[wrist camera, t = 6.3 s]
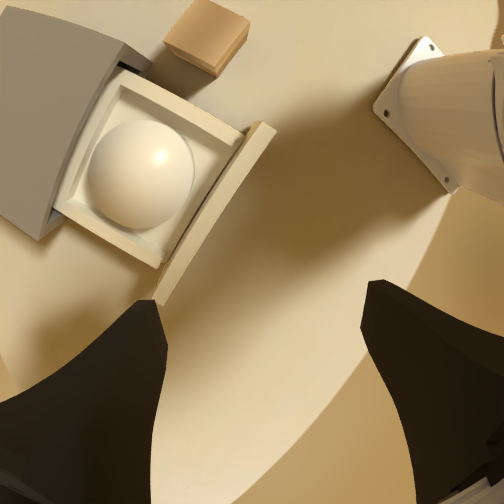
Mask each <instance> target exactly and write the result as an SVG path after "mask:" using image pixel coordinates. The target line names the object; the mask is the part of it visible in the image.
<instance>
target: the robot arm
mask: <svg viewBox="0 0 504 504" xmlns="http://www.w3.org/2000/svg"><path fill="white" fill-rule="evenodd" d="M501 39H502V43H503V45H504V35H502V37H501ZM429 46H430V47H431V50H430V48H429ZM385 110H386V111H387V113H388V115H387V117H385V116H384V111H385ZM373 112H374V113H375V114H376V115H377V116H378V117H379V118H380V119H381V120H382V121H383V122H384V123H385V124H386V125H387V126H388V127H389V128H390V129H391V130H392V131H393V132H394V133H395V134H396V135H397V136H398V137H399V138H400V139H401V140H402V141H403V142H404V143H405V144H406V145H407V146H408V147H409V148H410V149H411V150H412V151H413V152H414V153H415V154H416V155H417V157H418V158H419V159H420V160H421V161H422V162H423V163H424V164H425V166H426V167H427V168H428V169H429V170H430V171H431V172H432V174H433V175H434V176H435V177H436V178H437V180H438V181H439V182H440V183H441V184H442V186H443V187H444V188H445V189H446V191H447V192H448V193H450V194H455V193H456V191H457V190H458V188H459V186H461V187H464V188H466V189H468V190H471V191H473V192H475V193H477V194H480V195H482V196H484V197H486V198H488V199H490V200H493V201H495V202H497V203H499V204H501V205H503V206H504V49H498V50H485V51H476V52H468V53H460V54H453V55H447V56H444V54H443V53H442V52H441V51H440V50H439V49H438V48H437V47H436V45H435V44H434V43H433V42H432V41H431V40H430V39H429V38H428V37H426V36H423V37H420V38H419V40H418V41H417V42H416V44H415V45H414V47H413V48H412V50H411V51H410V53H409V54H408V55H407V57H406V58H405V60H404V61H403V63H402V64H401V65H400V67H399V68H398V70H397V71H396V73H395V74H394V75H393V77H392V78H391V80H390V81H389V83H388V84H387V85H386V87H385V88H384V90H383V91H382V93H381V94H380V95H379V97H378V98H377V100H376V101H375V102H374V104H373ZM445 178H446V181H445ZM360 329H361V332H362V335H363V337H364V340H365V343H366V346H367V349H368V351H369V353H370V355H371V357H372V359H373V361H374V363H375V365H376V367H377V369H378V371H379V373H380V375H381V377H382V379H383V381H384V382H385V384H386V387H387V389H388V391H389V393H390V395H391V397H392V399H393V401H394V404H395V406H396V408H397V411H398V414H399V417H400V420H401V423H402V426H403V430H404V433H405V437H406V441H407V445H408V448H409V453H410V458H411V462H412V467H413V473H414V481H415V489H416V502H417V504H504V337H502V336H499V335H495V334H492V333H490V332H487V331H484V330H482V329H479V328H477V327H474V326H472V325H470V324H467V323H465V322H463V321H461V320H458V319H456V318H455V317H453V316H451V315H449V314H447V313H445V312H443V311H441V310H439V309H437V308H436V307H434V306H432V305H430V304H428V303H427V302H425V301H423V300H421V299H419V298H418V297H416V296H414V295H413V294H411V293H409V292H407V291H406V290H404V289H402V288H400V287H398V286H397V285H395V284H393V283H391V282H389V281H386V280H384V279H383V280H375V281H368V287H367V294H366V299H365V305H364V310H363V316H362V321H361V326H360ZM167 350H168V344H167V341H166V337H165V334H164V331H163V327H162V324H161V320H160V317H159V313H158V310H157V306H156V302H155V300H138V301H137V302H135V303H134V304H133V305H132V306H131V307H130V308H129V309H128V310H126V311H125V312H124V313H123V314H122V315H121V316H120V317H119V318H118V319H117V320H116V321H115V322H114V323H113V324H112V325H111V326H110V327H109V328H108V329H107V330H105V331H104V332H103V333H102V334H101V335H100V336H99V337H98V338H97V339H96V340H95V341H93V342H92V343H91V344H90V345H89V346H88V347H87V348H85V349H84V350H83V351H82V352H81V353H80V354H79V355H77V356H76V357H75V358H74V359H72V360H71V361H70V362H69V363H67V364H66V365H65V366H63V367H62V368H60V369H59V370H58V371H56V372H55V373H53V374H52V375H50V376H49V377H47V378H46V379H44V380H42V381H41V382H39V383H38V384H36V385H34V386H33V387H31V388H29V389H28V390H26V391H24V392H22V393H20V394H18V395H16V396H14V397H12V398H10V399H8V400H6V401H3V402H1V403H0V504H151V491H150V464H151V444H152V433H153V426H154V421H155V416H156V411H157V407H158V402H159V398H160V393H161V389H162V384H163V380H164V375H165V371H166V361H167Z"/></svg>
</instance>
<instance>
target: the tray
mask: <svg viewBox="0 0 504 504" xmlns="http://www.w3.org/2000/svg"><path fill="white" fill-rule="evenodd" d="M135 120H152V121H158V122H162V123H165V124H167V125H169V126H171V127H173V128H174V129H176V130H177V131H178V132H179V133H180V134H181V135H182V136H183V137H184V138H185V139H186V141H187V142H188V144H189V146H190V148H191V150H192V153H193V156H194V161H195V178H194V182H193V186H192V188H191V191H190V193H189V195H188V196H187V198H186V200H185V202H184V203H183V205H182V207H181V208H180V209H179V211H178V212H177V213H176V214H175V215H174V216H172V217H171V218H170V219H169V220H167V221H165V222H164V223H162V224H160V225H157V226H154V227H150V228H142V229H137V228H130V227H126V226H123V225H121V224H118V223H116V222H115V221H113V220H112V219H110V218H109V217H107V216H106V215H105V214H104V213H103V212H102V210H101V209H100V208H99V207H98V205H97V203H96V202H95V200H94V198H93V196H92V193H91V190H90V186H89V178H88V171H89V163H90V159H91V156H92V153H93V151H94V149H95V147H96V145H97V144H98V142H99V141H100V140H101V138H102V137H103V136H104V135H105V134H106V133H107V132H109V131H110V130H111V129H113V128H114V127H116V126H118V125H120V124H122V123H125V122H129V121H135ZM276 132H277V130H275V129H274V128H272V127H271V126H269V125H268V124H266V123H265V122H263V121H258V122H255V123H254V124H253V126H252V127H251V128H250V130H249V131H248V133H247V134H246V136H245V135H243V134H241V133H240V132H238V131H237V130H235V129H233V128H232V127H230V126H228V125H227V124H225V123H224V122H222V121H220V120H219V119H217V118H215V117H214V116H212V115H210V114H208V113H207V112H205V111H203V110H202V109H200V108H198V107H196V106H195V105H193V104H191V103H189V102H187V101H186V100H184V99H182V98H180V97H178V96H177V95H175V94H173V93H171V92H169V91H167V90H165V89H163V88H162V87H160V86H158V85H156V84H154V83H152V82H150V81H148V80H146V79H144V78H142V77H140V76H138V75H136V74H134V73H132V72H130V71H128V70H125V69H123V68H121V67H119V66H117V65H116V67H115V68H114V70H113V72H112V73H111V75H110V77H109V78H108V80H107V82H106V83H105V85H104V87H103V89H102V91H101V92H100V94H99V96H98V98H97V100H96V102H95V104H94V105H93V107H92V109H91V111H90V113H89V115H88V117H87V119H86V121H85V123H84V126H83V128H82V130H81V132H80V134H79V136H78V139H77V141H76V143H75V145H74V148H73V150H72V153H71V155H70V157H69V160H68V162H67V165H66V168H65V170H64V173H63V175H62V178H61V181H60V184H59V187H58V189H57V192H56V195H55V198H54V202H53V205H52V207H53V208H55V209H56V210H58V211H59V212H61V213H62V214H64V215H66V216H67V217H69V218H70V219H72V220H74V221H75V222H77V223H78V224H80V225H82V226H83V227H85V228H86V229H88V230H90V231H91V232H93V233H95V234H96V235H98V236H100V237H101V238H103V239H105V240H106V241H108V242H110V243H111V244H113V245H115V246H117V247H118V248H120V249H122V250H123V251H125V252H127V253H129V254H130V255H132V256H134V257H136V258H137V259H139V260H141V261H143V262H144V263H146V264H148V265H150V266H152V267H153V268H155V269H158V267H159V266H160V264H161V262H162V263H164V264H165V263H166V264H165V265H164V268H163V270H162V272H161V275H160V277H159V280H158V282H157V285H156V287H155V290H154V293H153V295H152V298H151V300H155V302H156V303H157V304H159V305H161V306H164V305H165V303H166V301H167V300H168V298H169V296H170V295H171V293H172V291H173V290H174V288H175V286H176V285H177V283H178V281H179V280H180V278H181V276H182V275H183V273H184V272H185V270H186V268H187V267H188V265H189V263H190V262H191V260H192V259H193V257H194V255H195V254H196V252H197V251H198V249H199V247H200V246H201V244H202V243H203V241H204V240H205V238H206V236H207V235H208V233H209V232H210V230H211V229H212V227H213V225H214V224H215V222H216V221H217V219H218V218H219V216H220V215H221V213H222V212H223V210H224V209H225V207H226V205H227V204H228V202H229V201H230V199H231V198H232V196H233V195H234V193H235V192H236V190H237V189H238V187H239V186H240V184H241V183H242V181H243V180H244V179H245V177H246V176H247V174H248V173H249V171H250V170H251V168H252V167H253V165H254V164H255V162H256V161H257V159H258V158H259V157H260V155H261V154H262V152H263V151H264V149H265V148H266V147H267V145H268V144H269V142H270V141H271V139H272V138H273V137H274V135H275V134H276ZM243 138H244V139H243ZM236 148H237V149H236ZM234 151H235V152H234ZM232 154H233V155H232ZM230 157H231V158H230ZM228 160H229V161H228ZM226 163H227V164H226ZM219 174H220V175H219ZM217 177H218V178H217ZM215 180H216V181H215ZM213 183H214V184H213ZM210 188H211V189H210ZM208 191H209V192H208ZM205 196H206V197H205ZM203 199H204V200H203ZM200 204H201V205H200ZM198 207H199V208H198ZM195 212H196V213H195ZM192 217H193V218H192ZM189 222H190V223H189ZM186 227H187V228H186ZM183 232H184V233H183ZM180 237H181V238H180ZM177 242H178V243H177ZM176 244H177V245H176ZM173 249H174V250H173ZM169 256H170V257H169Z"/></svg>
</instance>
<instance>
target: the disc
mask: <svg viewBox="0 0 504 504" xmlns="http://www.w3.org/2000/svg"><path fill="white" fill-rule="evenodd" d="M88 178H89V186H90V190H91V193H92V196H93V198H94V200H95V202H96V203H97V205H98V207H99V208H100V209H101V210H102V212H103V213H104V214H105V215H106V216H107V217H109V218H110V219H112V220H113V221H115V222H116V223H118V224H121V225H123V226H126V227H130V228H137V229H142V228H150V227H154V226H157V225H160V224H162V223H164V222H165V221H167V220H169V219H170V218H171V217H172V216H174V215H175V214H176V213H177V212H178V211H179V209H180V208H181V207H182V205H183V203H184V202H185V200H186V198H187V196H188V195H189V193H190V191H191V188H192V186H193V182H194V178H195V161H194V156H193V153H192V150H191V148H190V146H189V144H188V142H187V141H186V139H185V138H184V137H183V136H182V135H181V134H180V133H179V132H178V131H177V130H176V129H174V128H173V127H171V126H169V125H167V124H165V123H162V122H158V121H152V120H135V121H129V122H125V123H122V124H120V125H118V126H116V127H114V128H113V129H111V130H110V131H109V132H107V133H106V134H105V135H104V136H103V137H102V138H101V140H100V141H99V142H98V144H97V145H96V147H95V149H94V151H93V153H92V156H91V159H90V163H89V171H88Z"/></svg>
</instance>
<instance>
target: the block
mask: <svg viewBox="0 0 504 504" xmlns="http://www.w3.org/2000/svg"><path fill="white" fill-rule="evenodd" d="M250 22H251V21H249V20H247V19H245V18H244V17H242V16H240V15H238V14H236V13H234V12H232V11H230V10H228V9H226V8H224V7H222V6H220V5H218V4H216V3H213V2H211V1H209V0H195V1H194V2H193V3H192V4H191V5H190V7H189V8H188V9H187V10H186V11H185V12H184V14H183V15H182V16H181V17H180V19H179V20H178V21H177V22H176V24H175V25H174V26H173V27H172V29H171V30H170V31H169V33H168V34H167V35H166V37H165V38H164V39H163V42H164V43H165V44H166V45H167V47H168V48H169V49H170V50H171V51H172V52H173V54H174V55H175V56H177V57H179V58H181V59H183V60H185V61H187V62H189V63H191V64H193V65H195V66H196V67H198V68H200V69H202V70H204V71H206V72H208V73H209V74H211V75H213V76H215V77H216V78H218V77H219V75H220V74H221V73H222V71H223V70H224V69H225V67H226V66H227V65H228V63H229V62H230V61H231V59H232V58H233V57H234V55H235V54H236V53H237V52H238V50H239V49H240V48H241V46H242V45H243V44H244V43H245V41H246V40H247V36H248V31H249V26H250Z"/></svg>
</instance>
